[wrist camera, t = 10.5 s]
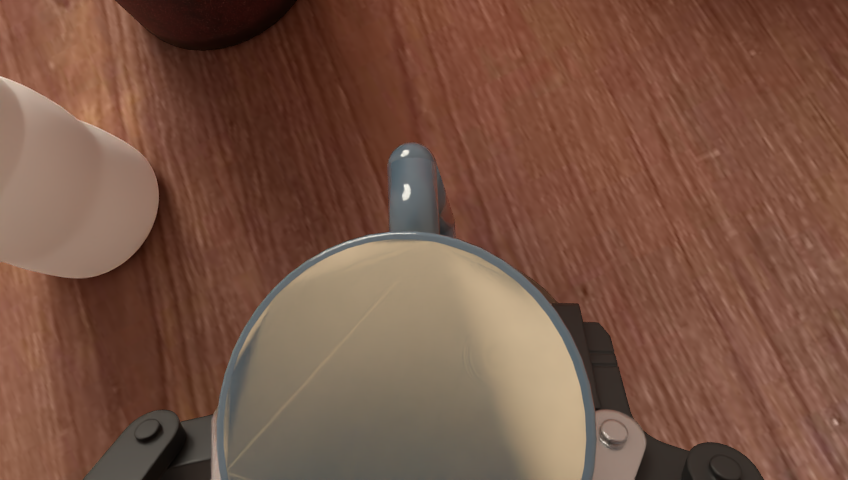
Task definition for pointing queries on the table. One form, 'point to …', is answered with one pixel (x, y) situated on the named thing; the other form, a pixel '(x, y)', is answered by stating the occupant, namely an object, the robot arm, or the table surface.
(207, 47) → the vase
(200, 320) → the table surface
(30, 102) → the water bottle
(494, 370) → the beer stein
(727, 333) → the table surface
